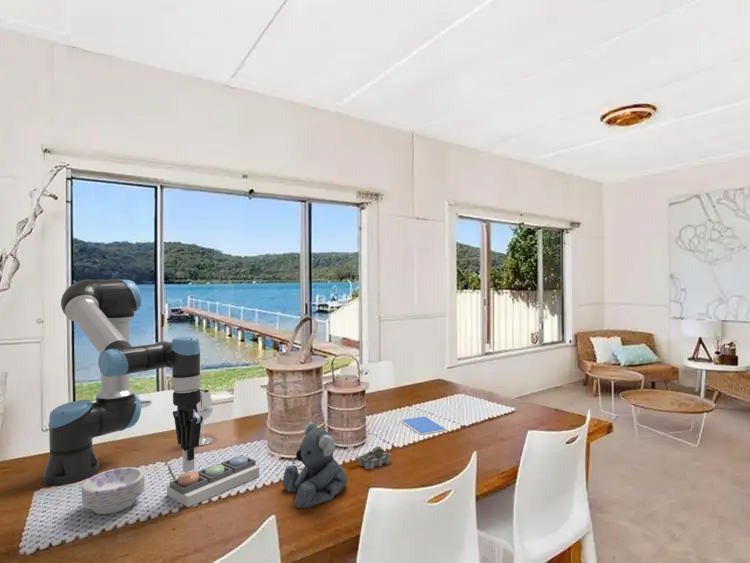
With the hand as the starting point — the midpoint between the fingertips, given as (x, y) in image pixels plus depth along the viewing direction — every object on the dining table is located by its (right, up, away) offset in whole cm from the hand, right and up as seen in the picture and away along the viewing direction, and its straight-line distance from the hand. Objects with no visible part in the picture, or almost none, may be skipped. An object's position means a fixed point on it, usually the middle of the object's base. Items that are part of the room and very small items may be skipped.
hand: (188, 470), depth 128 cm
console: (+5, -8, +7) cm, 11 cm away
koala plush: (+38, -7, +1) cm, 39 cm away
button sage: (+5, -4, +7) cm, 10 cm away
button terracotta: (0, -4, 0) cm, 4 cm away
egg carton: (+55, -7, +21) cm, 59 cm away
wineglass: (-13, -8, +44) cm, 47 cm away
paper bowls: (-19, -8, -5) cm, 21 cm away
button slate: (+10, -4, +13) cm, 18 cm away
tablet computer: (+75, -7, +58) cm, 96 cm away
